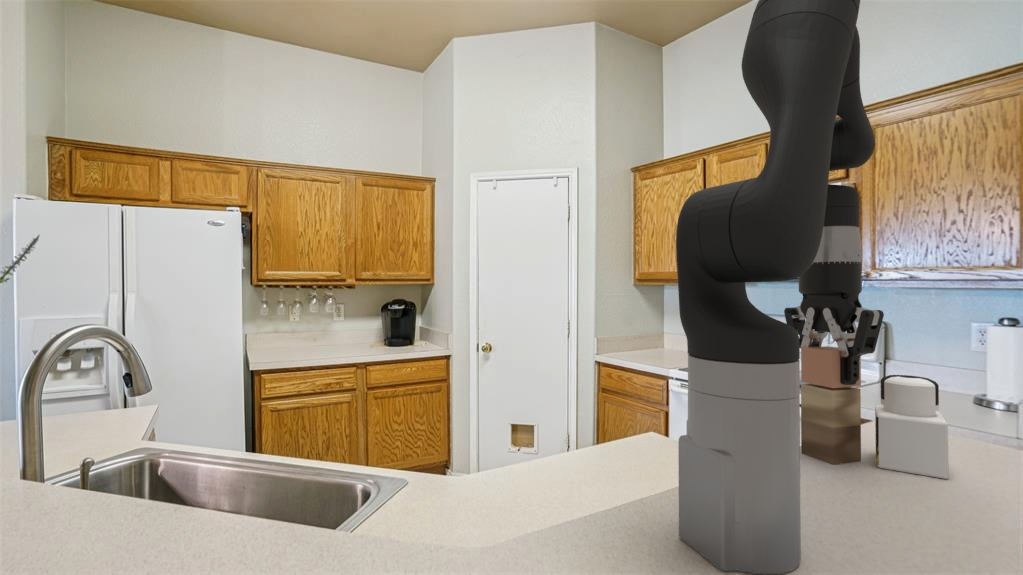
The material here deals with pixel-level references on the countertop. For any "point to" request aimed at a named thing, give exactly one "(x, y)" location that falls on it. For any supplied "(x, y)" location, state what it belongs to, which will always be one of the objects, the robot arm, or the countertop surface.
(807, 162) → the robot arm
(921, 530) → the countertop surface
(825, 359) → the clay block
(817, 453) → the tower bottom
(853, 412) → the tower top
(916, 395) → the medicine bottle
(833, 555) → the countertop surface
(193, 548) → the countertop surface
